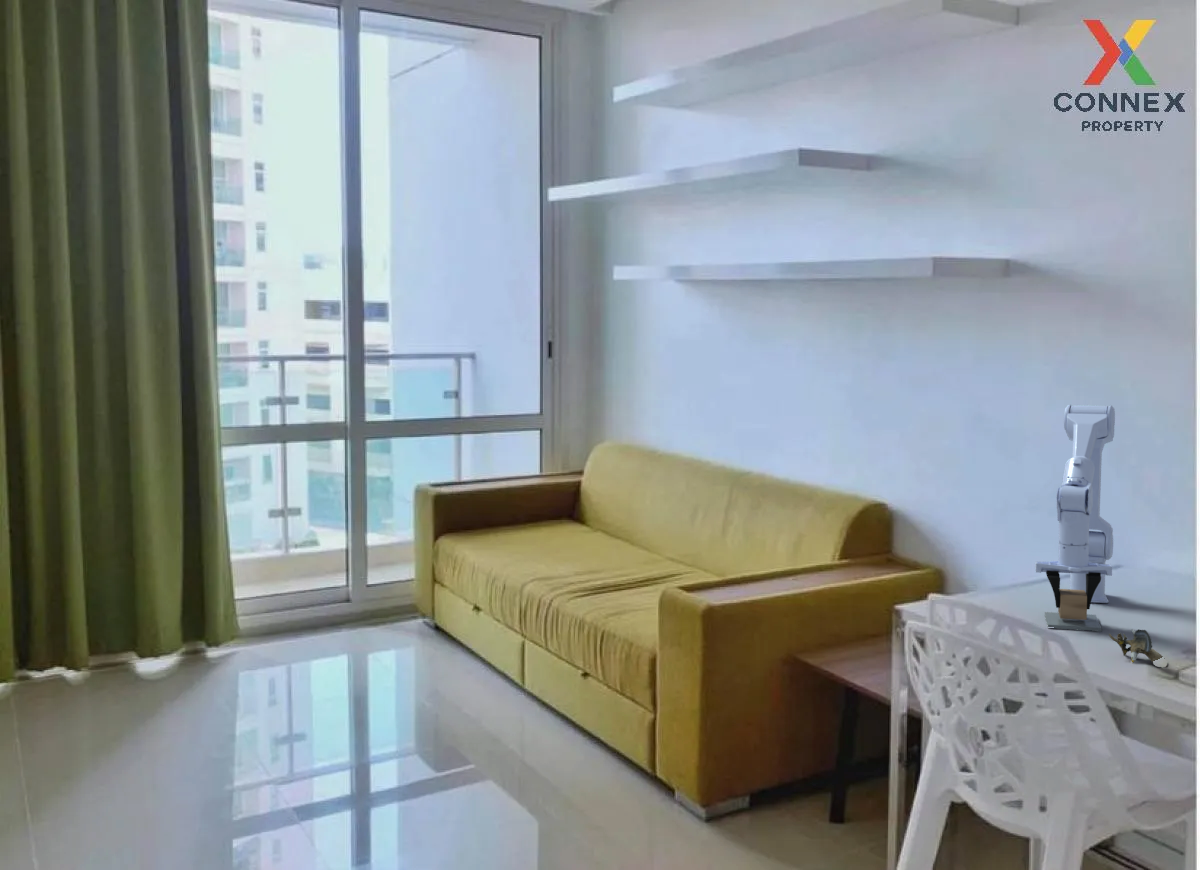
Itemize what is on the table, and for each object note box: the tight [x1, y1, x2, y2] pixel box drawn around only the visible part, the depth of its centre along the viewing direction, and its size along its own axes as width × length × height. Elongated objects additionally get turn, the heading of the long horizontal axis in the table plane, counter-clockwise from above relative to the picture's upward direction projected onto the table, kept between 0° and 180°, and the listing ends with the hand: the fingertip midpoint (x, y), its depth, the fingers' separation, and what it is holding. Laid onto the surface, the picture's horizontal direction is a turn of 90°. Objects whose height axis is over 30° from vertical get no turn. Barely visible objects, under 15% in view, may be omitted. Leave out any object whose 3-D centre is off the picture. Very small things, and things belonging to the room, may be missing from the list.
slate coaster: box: [1044, 611, 1102, 632], centre depth 228 cm, size 10×10×1 cm
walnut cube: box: [1057, 588, 1088, 620], centre depth 228 cm, size 5×5×5 cm
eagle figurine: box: [1108, 628, 1164, 663], centre depth 203 cm, size 8×7×9 cm
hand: (1072, 607), depth 228 cm, fingers closed on walnut cube, 5 cm apart
